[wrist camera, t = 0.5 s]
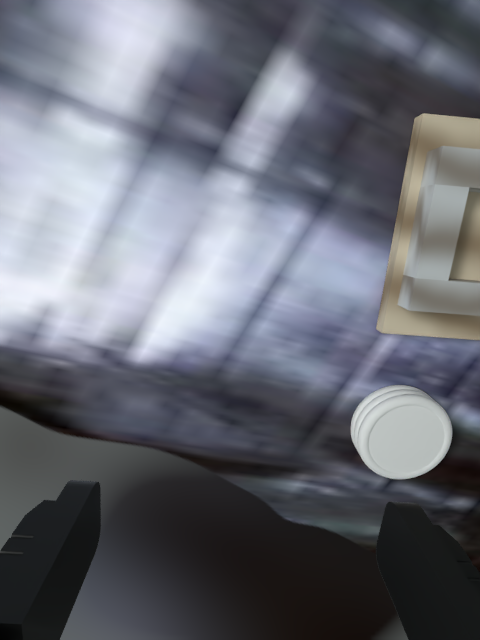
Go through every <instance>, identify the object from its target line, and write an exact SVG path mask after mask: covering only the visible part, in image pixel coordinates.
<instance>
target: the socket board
mask: <svg viewBox="0 0 480 640" xmlns="http://www.w3.org/2000/svg"><path fill="white" fill-rule="evenodd" d="M376 329H377V330H378V331H380V332H381V333H388V334H402V335H416V336H429V337H443V338H457V339H471V340H480V119H475V118H464V117H454V116H444V115H434V114H424V113H423V114H421V115H420V116H418V117H416V118H415V120H414V125H413V131H412V136H411V142H410V147H409V153H408V158H407V164H406V169H405V175H404V180H403V185H402V191H401V196H400V202H399V207H398V213H397V218H396V224H395V229H394V234H393V240H392V245H391V251H390V256H389V262H388V267H387V273H386V278H385V284H384V289H383V294H382V300H381V305H380V311H379V316H378V322H377V327H376Z"/></svg>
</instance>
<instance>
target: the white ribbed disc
mask: <svg viewBox="0 0 480 640" xmlns="http://www.w3.org/2000/svg"><path fill="white" fill-rule="evenodd" d="M351 437H352V441H353V444H354V446H355V447H356V449H357V451H358V453H359V454H360V456H361V458H362V460H363V461H364V463H365V464H366V465H367V466H368V467H369V468H370V469H371V470H373V471H374V472H375V473H377V474H379V475H381V476H384V477H387V478H391V479H409V478H413V477H417V476H420V475H422V474H424V473H426V472H428V471H430V470H431V469H433V468H434V467H435V466H436V465H437V464H438V463H440V462H441V460H442V459H443V458H444V457H445V455H446V453H447V452H448V450H449V447H450V444H451V441H452V425H451V421H450V419H449V416H448V415H447V413H446V411H445V410H444V409H443V408H442V406H440V405H439V404H438V403H437V402H436V401H435V400H433V399H432V398H431V397H430V396H429V395H428V394H426V393H425V392H423V391H422V390H420V389H417V388H415V387H411V386H406V385H392V386H387V387H384V388H381V389H378V390H376V391H374V392H373V393H371V394H370V395H368V396H367V397H366V398H365V399H363V401H362V402H361V403H360V404H359V405H358V407H357V408H356V410H355V412H354V414H353V417H352V421H351Z"/></svg>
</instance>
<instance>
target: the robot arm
mask: <svg viewBox="0 0 480 640" xmlns="http://www.w3.org/2000/svg"><path fill="white" fill-rule="evenodd" d="M100 510H101V508H100V484H99V482H91V481H90V482H89V481H75V480H70V481H69V482H68V483H67V484H66V486H65V487H64V489H63V490H62V492H61V494H60V495H59V497H58V498H57V500H56V501H50V500H44V501H43V502H41V503H40V504H39V505H38V506H37V507H35V508H34V509H32V510H31V511H30V512H29V513H27V515H25V516H24V518H23V519H22V521H21V522H20V523H19V525H18V526H17V528H16V529H15V531H14V532H13V533H12V536H11V538H9V539H8V541H7V542H6V544H5V545H4V546H3V548H2V549H1V552H0V640H60V637H61V635H62V633H63V630H64V628H65V625H66V623H67V620H68V618H69V616H70V613H71V611H72V608H73V606H74V604H75V601H76V599H77V596H78V593H79V591H80V589H81V586H82V584H83V582H84V579H85V577H86V574H87V572H88V570H89V567H90V565H91V562H92V560H93V557H94V555H95V552H96V549H97V546H98V542H99V537H100V529H101V511H100ZM376 557H377V563H378V567H379V570H380V572H381V575H382V577H383V580H384V582H385V585H386V587H387V589H388V592H389V594H390V597H391V599H392V601H393V603H394V606H395V608H396V611H397V613H398V616H399V618H400V620H401V622H402V625H403V627H404V630H405V632H406V634H407V637H408V639H409V640H480V573H479V571H478V570H477V569H476V567H475V566H473V565H472V561H471V560H470V559H469V557H468V556H467V554H466V553H465V551H464V550H463V549H462V547H461V546H460V544H459V543H458V542H457V541H456V540H455V539H454V538H453V537H452V536H450V535H449V534H448V533H447V532H446V531H445V530H444V529H443V528H442V527H440V526H439V525H433V524H432V523H431V521H430V520H429V518H428V517H427V515H426V514H425V512H424V511H423V509H422V508H421V507H420V506H419V505H418V504H416V503H404V502H388V503H387V505H386V507H385V511H384V515H383V520H382V524H381V528H380V532H379V536H378V540H377V545H376Z"/></svg>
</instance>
